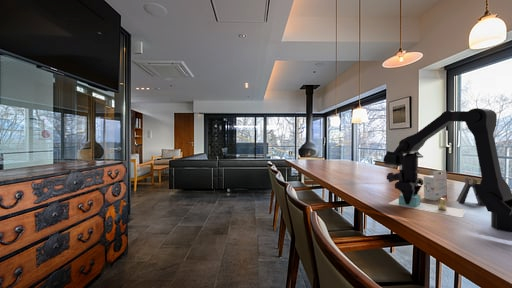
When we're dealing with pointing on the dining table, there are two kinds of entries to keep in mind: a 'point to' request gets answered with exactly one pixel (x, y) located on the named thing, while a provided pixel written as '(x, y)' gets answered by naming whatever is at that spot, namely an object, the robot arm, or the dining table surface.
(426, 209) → the board
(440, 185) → the ink cartridge box
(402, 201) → the collar
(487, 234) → the dining table surface
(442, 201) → the cylinder
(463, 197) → the phone stand
